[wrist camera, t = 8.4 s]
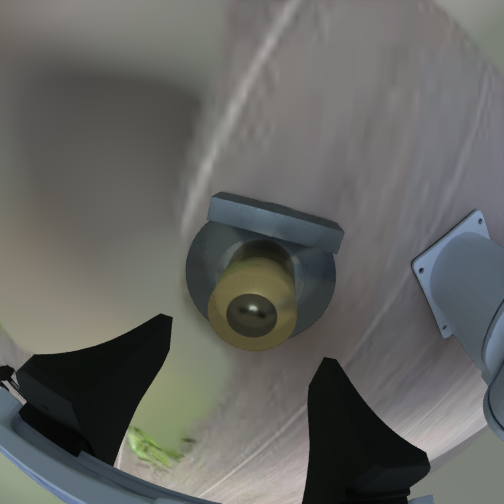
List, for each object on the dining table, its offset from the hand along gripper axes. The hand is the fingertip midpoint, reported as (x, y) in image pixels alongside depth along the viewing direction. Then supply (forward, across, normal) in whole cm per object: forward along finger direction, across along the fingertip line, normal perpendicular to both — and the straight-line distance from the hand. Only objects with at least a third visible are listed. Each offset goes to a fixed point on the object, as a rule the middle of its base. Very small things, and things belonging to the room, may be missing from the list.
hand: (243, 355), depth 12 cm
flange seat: (+9, 0, 0) cm, 9 cm away
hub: (+8, 0, -1) cm, 8 cm away
